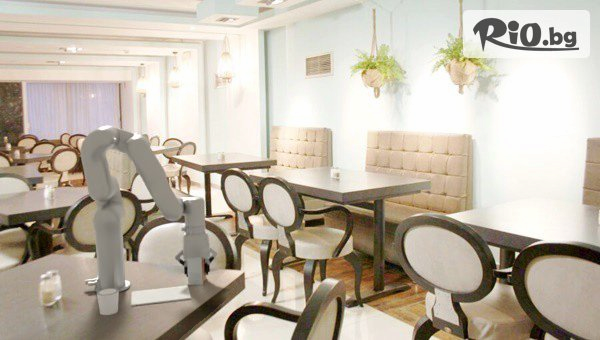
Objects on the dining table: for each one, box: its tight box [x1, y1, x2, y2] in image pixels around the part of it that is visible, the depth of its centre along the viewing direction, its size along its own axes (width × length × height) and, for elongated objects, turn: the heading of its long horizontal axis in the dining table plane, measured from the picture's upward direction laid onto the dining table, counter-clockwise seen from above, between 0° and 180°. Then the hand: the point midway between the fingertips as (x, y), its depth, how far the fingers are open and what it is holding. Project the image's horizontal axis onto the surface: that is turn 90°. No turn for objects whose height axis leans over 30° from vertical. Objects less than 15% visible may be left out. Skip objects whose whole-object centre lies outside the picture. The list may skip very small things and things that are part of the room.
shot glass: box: [96, 288, 120, 316], centre depth 173 cm, size 7×7×7 cm
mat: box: [130, 284, 192, 307], centre depth 187 cm, size 20×13×1 cm, turn 107°
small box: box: [187, 257, 207, 286], centre depth 201 cm, size 8×6×10 cm
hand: (197, 274), depth 201 cm, fingers closed on small box, 6 cm apart
